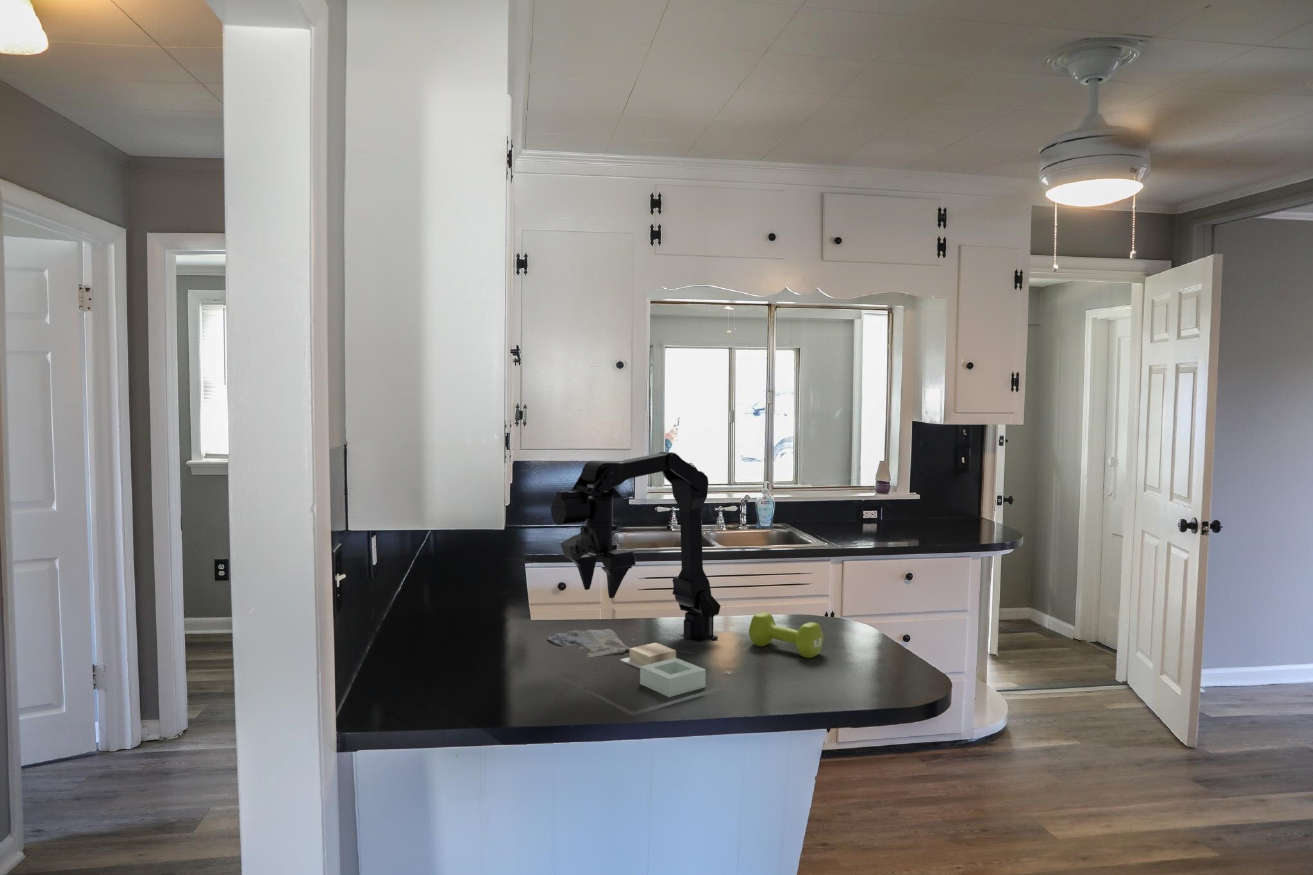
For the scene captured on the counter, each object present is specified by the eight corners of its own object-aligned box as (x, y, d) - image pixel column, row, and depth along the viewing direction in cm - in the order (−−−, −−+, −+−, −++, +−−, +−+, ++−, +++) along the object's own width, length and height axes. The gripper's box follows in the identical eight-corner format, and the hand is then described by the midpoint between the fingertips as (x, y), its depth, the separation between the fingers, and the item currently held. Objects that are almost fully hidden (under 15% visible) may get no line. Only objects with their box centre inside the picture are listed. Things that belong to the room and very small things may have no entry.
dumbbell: (745, 646, 189) (745, 615, 189) (764, 639, 195) (765, 608, 195) (807, 662, 178) (808, 629, 178) (826, 653, 184) (827, 621, 184)
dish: (675, 677, 168) (675, 657, 168) (705, 689, 161) (705, 669, 160) (640, 686, 162) (640, 666, 162) (669, 700, 155) (669, 678, 155)
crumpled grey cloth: (633, 657, 182) (633, 647, 182) (565, 665, 177) (565, 654, 177) (610, 635, 199) (610, 625, 199) (548, 641, 194) (547, 631, 193)
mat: (656, 653, 183) (656, 650, 183) (685, 665, 175) (685, 662, 175) (619, 662, 177) (619, 659, 177) (648, 674, 169) (648, 671, 169)
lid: (655, 653, 181) (655, 642, 181) (675, 662, 176) (676, 650, 175) (629, 659, 177) (629, 648, 177) (649, 668, 171) (649, 656, 171)
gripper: (543, 518, 178) (543, 590, 179) (592, 529, 163) (591, 608, 164) (587, 514, 185) (586, 583, 186) (637, 524, 170) (637, 600, 171)
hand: (599, 593), depth 177 cm, fingers open, 9 cm apart
